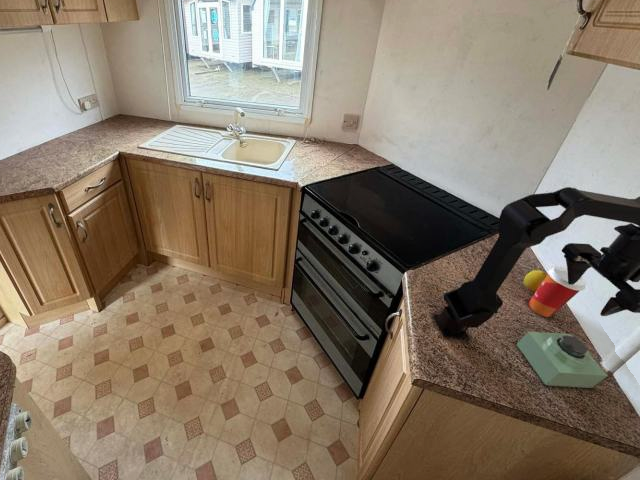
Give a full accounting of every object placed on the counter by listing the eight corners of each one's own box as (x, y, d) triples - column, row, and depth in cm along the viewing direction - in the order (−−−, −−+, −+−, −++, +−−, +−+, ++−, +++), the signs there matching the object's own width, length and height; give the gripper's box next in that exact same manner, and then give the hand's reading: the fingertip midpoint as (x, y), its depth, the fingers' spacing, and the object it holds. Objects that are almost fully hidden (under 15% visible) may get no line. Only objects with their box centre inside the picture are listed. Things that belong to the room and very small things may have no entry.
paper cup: (541, 298, 94) (569, 265, 86) (563, 320, 88) (596, 287, 80) (517, 297, 94) (543, 264, 86) (537, 320, 87) (568, 286, 80)
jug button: (568, 357, 70) (573, 352, 69) (552, 339, 74) (557, 334, 73) (586, 358, 70) (592, 353, 69) (570, 340, 74) (576, 335, 73)
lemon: (537, 286, 98) (551, 269, 93) (542, 299, 93) (558, 281, 89) (516, 280, 99) (530, 263, 95) (521, 293, 95) (535, 275, 91)
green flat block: (545, 385, 72) (565, 368, 68) (516, 344, 80) (531, 327, 76) (591, 388, 72) (613, 371, 68) (557, 346, 80) (575, 329, 76)
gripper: (720, 288, 58) (660, 336, 67) (626, 226, 74) (587, 271, 82) (659, 285, 59) (607, 333, 67) (578, 224, 74) (544, 269, 83)
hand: (585, 298), depth 75 cm, fingers open, 9 cm apart
